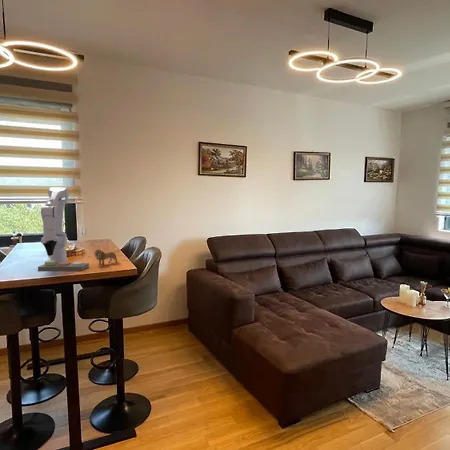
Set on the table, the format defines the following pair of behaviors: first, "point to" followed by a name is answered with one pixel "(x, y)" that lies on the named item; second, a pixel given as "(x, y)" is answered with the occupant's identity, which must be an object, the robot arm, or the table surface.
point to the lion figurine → (104, 256)
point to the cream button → (77, 264)
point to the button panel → (63, 267)
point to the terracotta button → (64, 263)
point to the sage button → (50, 263)
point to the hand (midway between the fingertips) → (50, 255)
